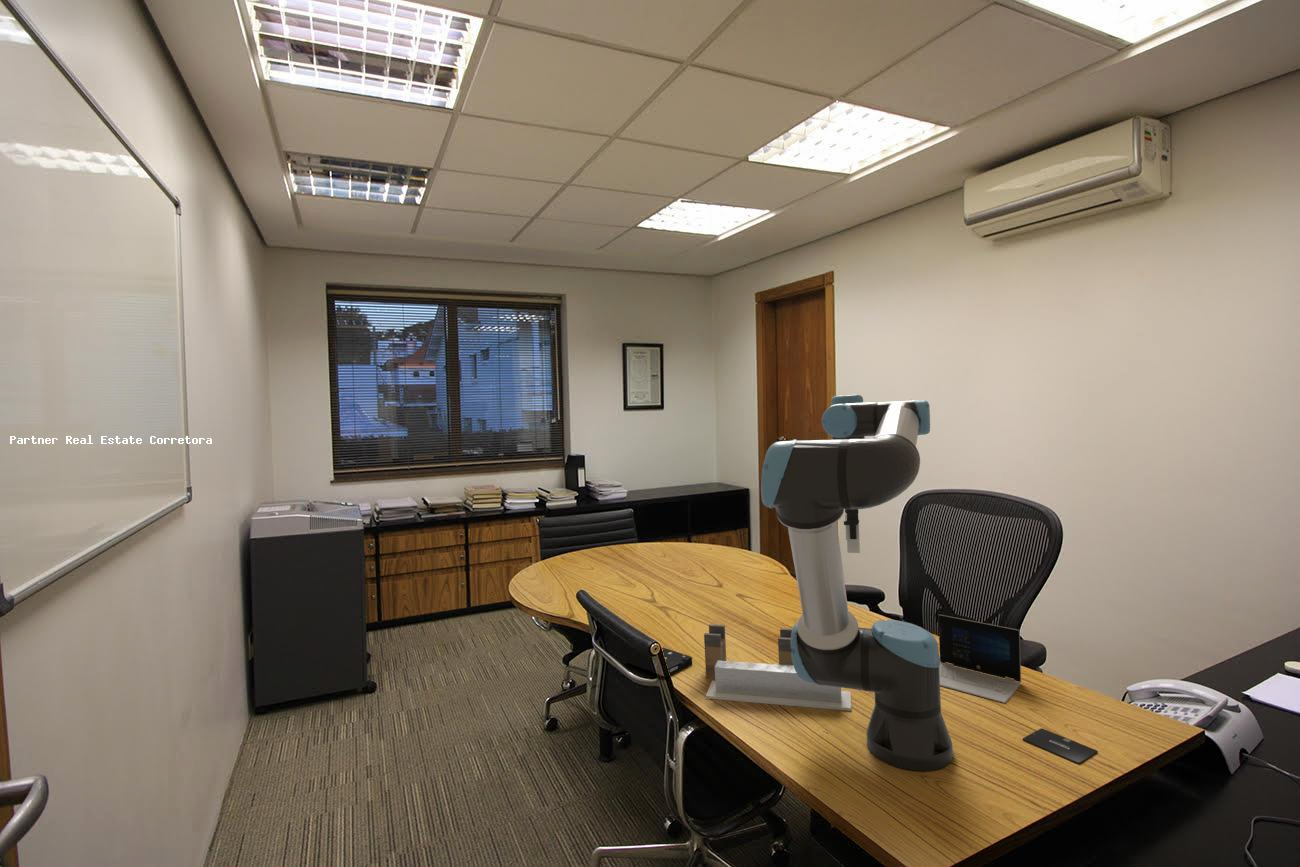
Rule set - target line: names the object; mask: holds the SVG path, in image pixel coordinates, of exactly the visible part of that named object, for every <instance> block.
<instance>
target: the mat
mask: <svg viewBox="0 0 1300 867" xmlns="http://www.w3.org/2000/svg"><path fill="white" fill-rule="evenodd" d="M851 696H852V695H851V691H850V690H849V691H848V690H841V700H842V703H833V702H821V701H809V700H797V699H785V698H773V697H761V696H749V695H737V694H725V693H716V685H715V680H711V682H710V685H709V687H708V689H707V692H706V695H705V699H706V700H707V699H709V700H710V699H711V700H718V701H719V700H721V701H730V702H731V701H732V702H733V701H735V702H744V703H755V704H764V705H765V704H766V705H767V704H768V705H769V704H770V705H776V706H777V705H779V706H787V707H788V706H790V707H791V706H792V707H802V708H813V709H824V710H826V709H827V710H833V711H834V710H837V711H847V712H852V698H851Z"/></svg>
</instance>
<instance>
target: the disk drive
mask: <svg viewBox="0 0 1300 867" xmlns="http://www.w3.org/2000/svg"><path fill="white" fill-rule="evenodd" d="M661 647H662V649H663V653H664V657H665V660H666V664H667V667H668V670H669V673H670V675H671V676H674V675H676V674H677V673H680V672H681V671H683V670H685V669H687V668H689V667H691V666H693V657H692V656H690V655H688V654H684V653H682V652H678V651H675V650H672V649H669V648H666V647H663V646H661Z"/></svg>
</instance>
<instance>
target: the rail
mask: <svg viewBox="0 0 1300 867" xmlns="http://www.w3.org/2000/svg"><path fill="white" fill-rule="evenodd" d="M714 681H715V685H716V693H725V694H737V695H749V696H761V697H773V698H785V699H797V700H809V701H821V702H833V703H842V700H841V691H842V687H834V686H827V685H817V684H815V683H811V682H807V681H804V680H802V679H801V678H800V677H799V676H798V675H797V673H796V671H795V669H794V666H792V665H779V664H774V663H773V664H772V663H760V662H759V663H758V662H748V661H747V662H746V661H745V662H744V661H733V660H732V661H729V660H726V661H719V660H718V661H717V663H716V666H715V679H714Z"/></svg>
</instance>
